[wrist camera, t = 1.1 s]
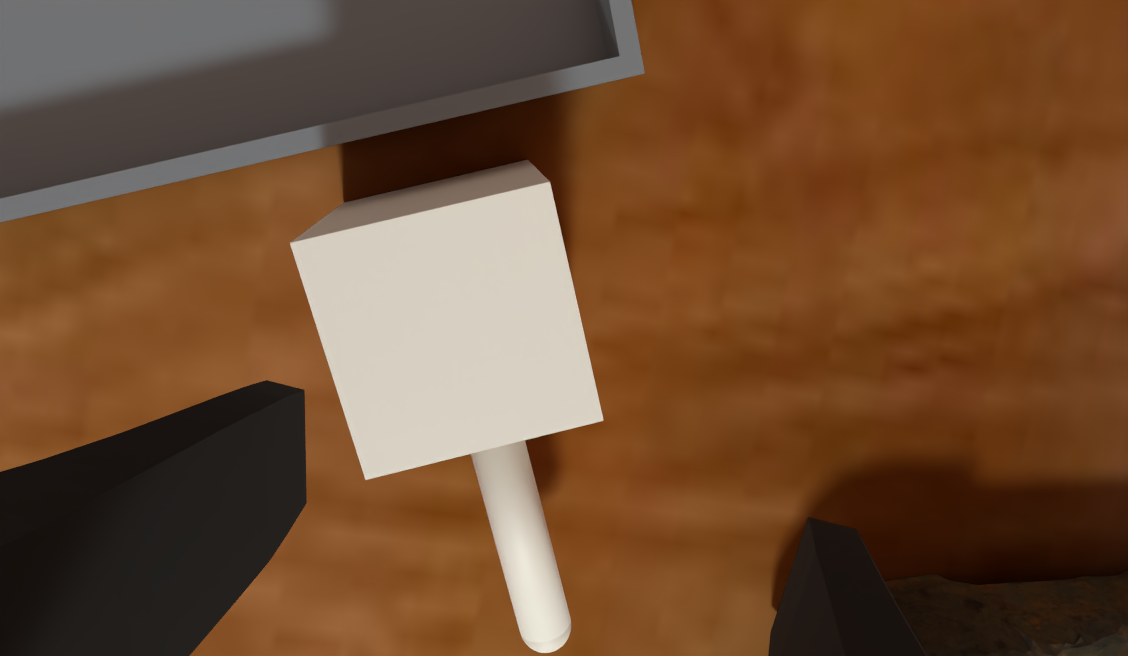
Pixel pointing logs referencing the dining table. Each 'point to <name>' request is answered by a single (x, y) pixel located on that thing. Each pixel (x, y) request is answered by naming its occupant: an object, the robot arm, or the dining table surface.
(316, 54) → the bin
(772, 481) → the dining table surface
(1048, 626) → the hand tool
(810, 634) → the robot arm
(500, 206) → the white mallet
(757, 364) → the dining table surface
